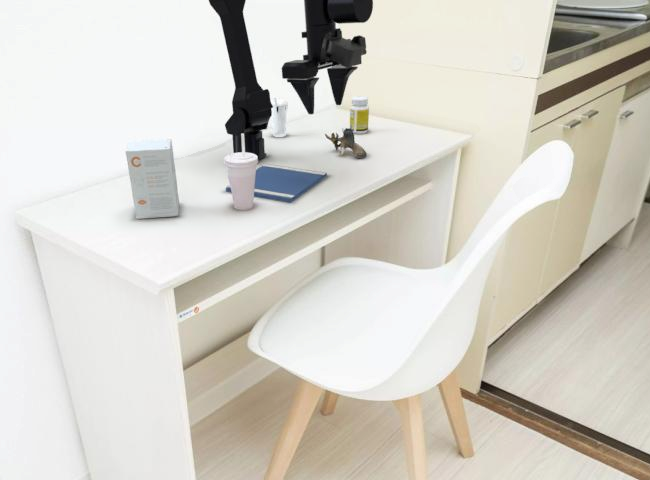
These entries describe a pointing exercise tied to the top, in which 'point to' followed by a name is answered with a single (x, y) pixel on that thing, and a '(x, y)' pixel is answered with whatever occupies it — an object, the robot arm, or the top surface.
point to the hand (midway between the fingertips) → (325, 109)
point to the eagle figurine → (347, 143)
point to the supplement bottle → (359, 115)
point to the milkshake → (279, 117)
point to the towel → (283, 182)
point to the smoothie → (242, 176)
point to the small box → (153, 178)
